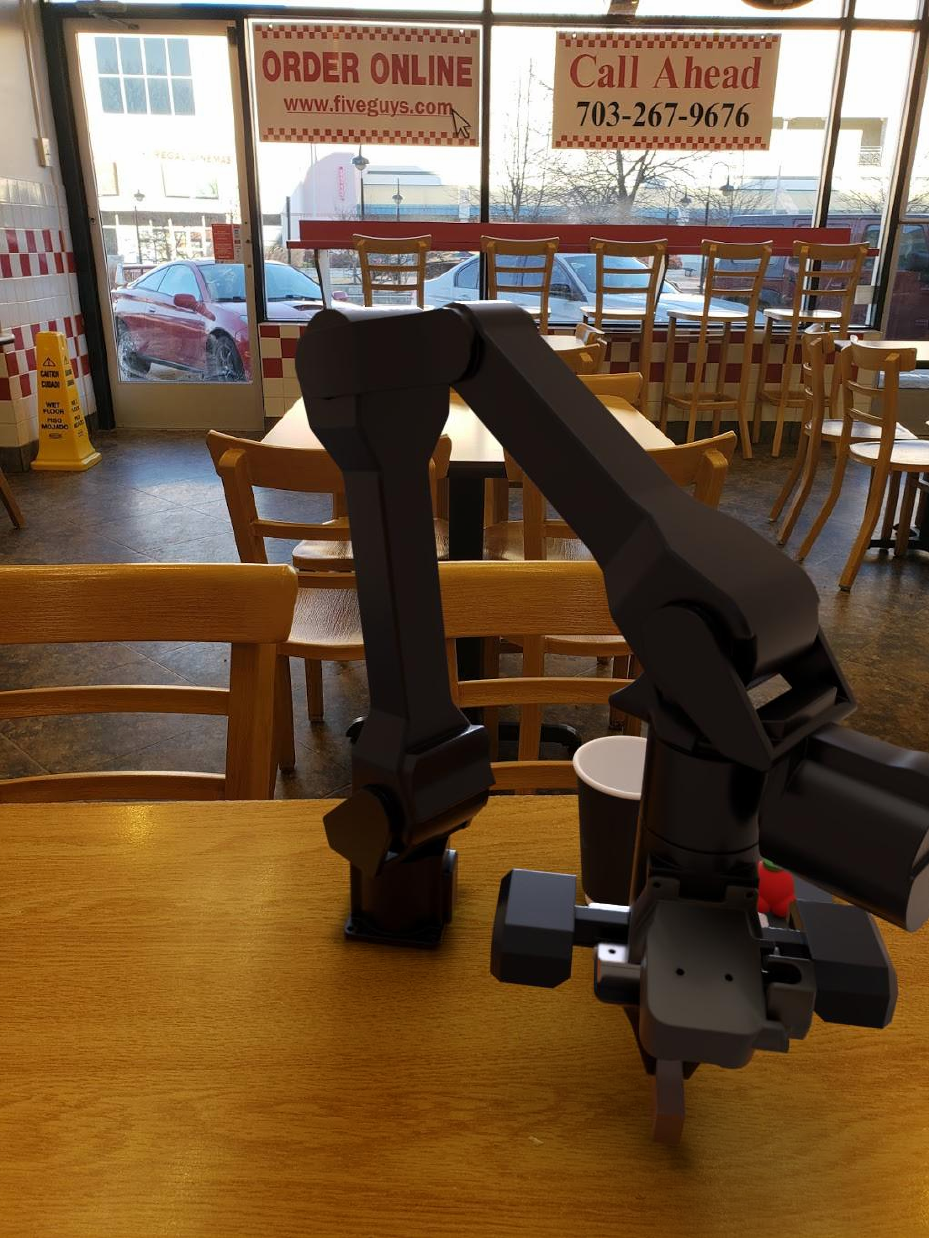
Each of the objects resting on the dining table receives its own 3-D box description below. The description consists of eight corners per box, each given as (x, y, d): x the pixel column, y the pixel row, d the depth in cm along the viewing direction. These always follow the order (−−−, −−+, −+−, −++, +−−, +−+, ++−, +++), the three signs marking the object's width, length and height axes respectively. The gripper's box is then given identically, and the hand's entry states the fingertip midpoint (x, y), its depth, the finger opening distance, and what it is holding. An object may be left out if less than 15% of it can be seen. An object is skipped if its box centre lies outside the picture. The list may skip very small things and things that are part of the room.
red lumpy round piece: (743, 919, 65) (750, 873, 63) (736, 888, 68) (743, 843, 66) (797, 924, 64) (805, 878, 63) (787, 893, 67) (795, 848, 66)
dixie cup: (699, 920, 65) (719, 781, 60) (599, 949, 62) (613, 805, 58) (635, 855, 71) (649, 727, 67) (543, 879, 68) (551, 746, 64)
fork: (697, 1148, 47) (703, 1118, 46) (635, 1139, 48) (639, 1110, 46) (681, 918, 60) (686, 890, 59) (632, 913, 60) (635, 885, 59)
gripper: (480, 906, 37) (470, 1184, 43) (974, 962, 35) (894, 1248, 41) (508, 766, 48) (496, 1005, 53) (892, 802, 45) (837, 1048, 51)
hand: (666, 1070), depth 49 cm, fingers closed on fork, 1 cm apart
